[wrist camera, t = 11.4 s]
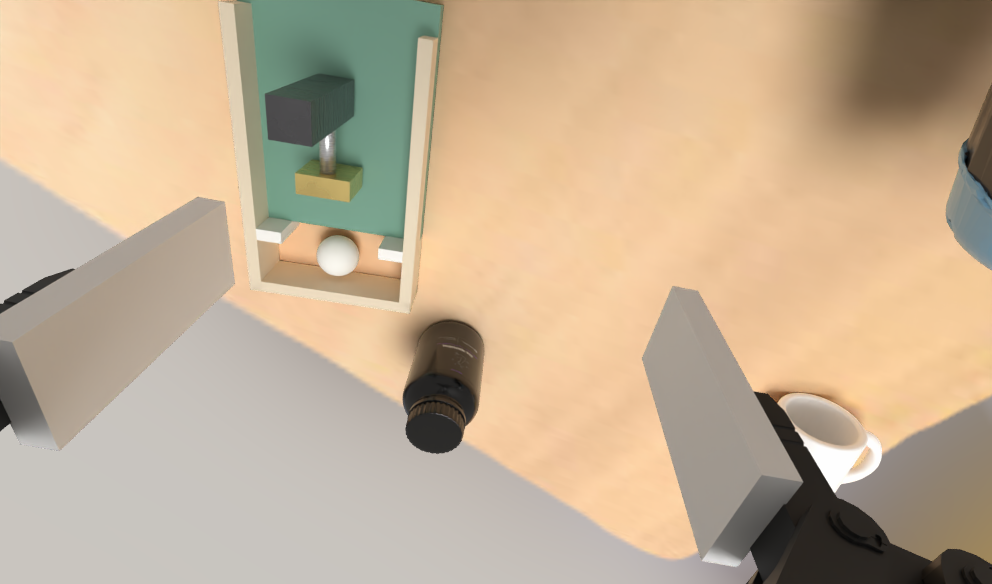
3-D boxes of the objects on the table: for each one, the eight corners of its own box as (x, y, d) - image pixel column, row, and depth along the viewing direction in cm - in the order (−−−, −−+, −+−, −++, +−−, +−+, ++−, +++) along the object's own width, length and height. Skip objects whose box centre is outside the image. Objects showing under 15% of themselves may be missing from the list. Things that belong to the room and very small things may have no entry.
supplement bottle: (476, 313, 48) (466, 398, 38) (491, 366, 52) (485, 458, 41) (409, 324, 49) (382, 410, 39) (428, 375, 53) (407, 467, 42)
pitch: (243, -33, 34) (213, -36, 31) (443, 5, 35) (436, 6, 31) (269, 267, 46) (250, 289, 43) (417, 290, 47) (409, 313, 44)
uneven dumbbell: (309, 71, 36) (252, 91, 28) (364, 81, 36) (323, 104, 28) (312, 178, 40) (263, 222, 32) (362, 186, 40) (325, 232, 32)
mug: (734, 453, 57) (764, 514, 50) (764, 388, 52) (802, 447, 45) (835, 461, 57) (879, 523, 51) (876, 397, 52) (930, 457, 46)
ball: (325, 255, 46) (322, 224, 43) (364, 261, 46) (363, 230, 44) (313, 281, 43) (308, 249, 41) (354, 287, 43) (351, 256, 41)
